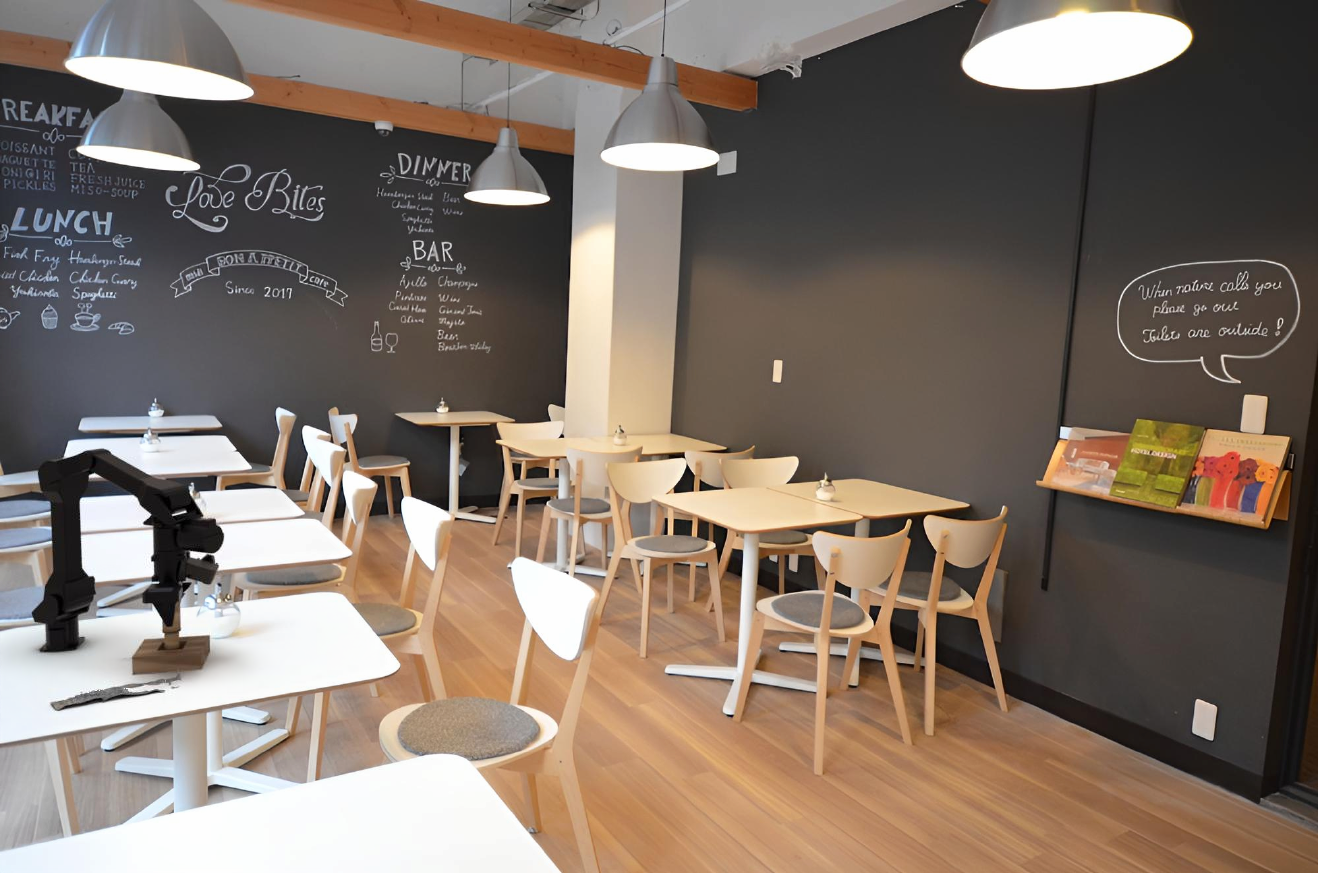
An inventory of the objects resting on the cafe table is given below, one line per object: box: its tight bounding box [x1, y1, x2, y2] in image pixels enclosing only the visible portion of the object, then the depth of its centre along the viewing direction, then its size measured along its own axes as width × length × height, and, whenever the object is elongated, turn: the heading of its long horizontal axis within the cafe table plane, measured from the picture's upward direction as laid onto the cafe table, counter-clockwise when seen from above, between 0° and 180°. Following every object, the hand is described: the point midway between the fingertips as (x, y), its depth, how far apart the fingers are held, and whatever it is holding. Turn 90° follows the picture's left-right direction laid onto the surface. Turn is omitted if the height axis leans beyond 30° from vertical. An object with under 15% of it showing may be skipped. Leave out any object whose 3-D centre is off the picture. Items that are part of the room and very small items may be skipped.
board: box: [131, 634, 211, 675], centre depth 173 cm, size 10×12×4 cm
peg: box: [161, 601, 182, 650], centre depth 172 cm, size 3×3×12 cm
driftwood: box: [50, 673, 182, 711], centre depth 158 cm, size 21×7×2 cm, turn 124°
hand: (171, 623), depth 172 cm, fingers closed on peg, 3 cm apart
